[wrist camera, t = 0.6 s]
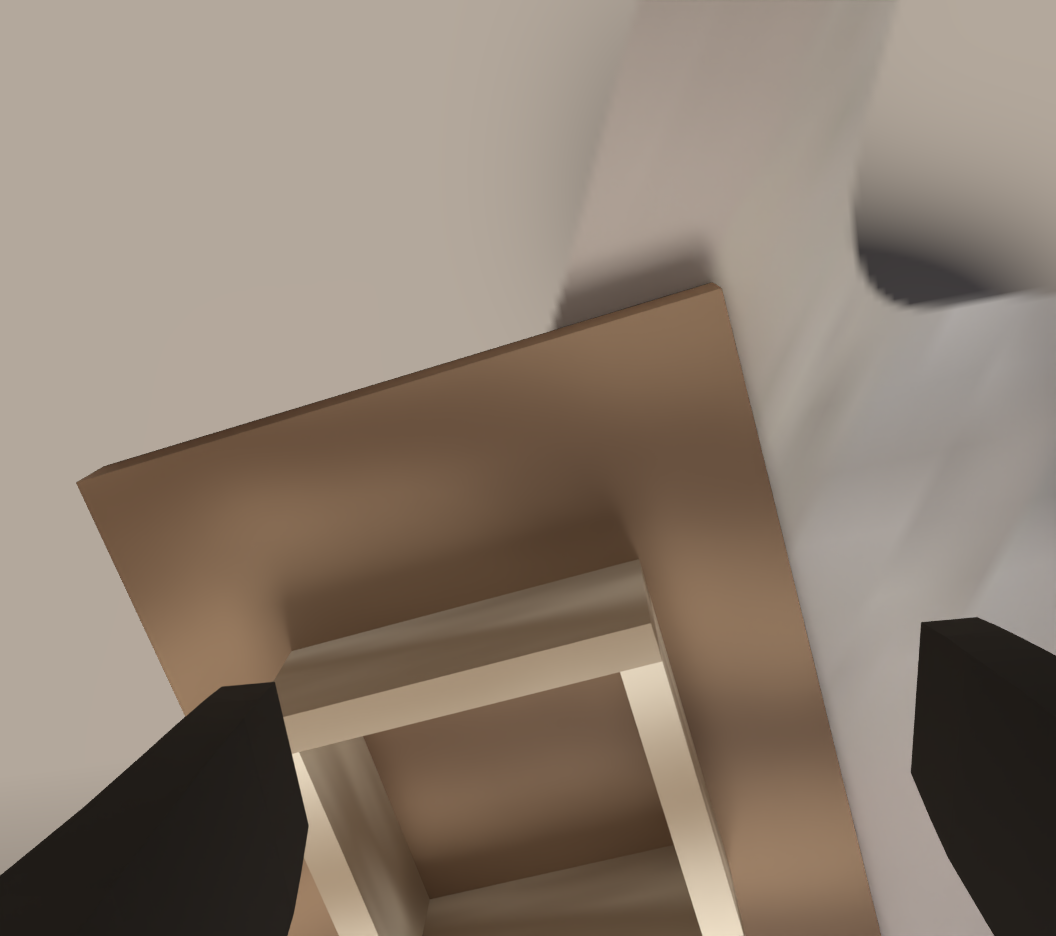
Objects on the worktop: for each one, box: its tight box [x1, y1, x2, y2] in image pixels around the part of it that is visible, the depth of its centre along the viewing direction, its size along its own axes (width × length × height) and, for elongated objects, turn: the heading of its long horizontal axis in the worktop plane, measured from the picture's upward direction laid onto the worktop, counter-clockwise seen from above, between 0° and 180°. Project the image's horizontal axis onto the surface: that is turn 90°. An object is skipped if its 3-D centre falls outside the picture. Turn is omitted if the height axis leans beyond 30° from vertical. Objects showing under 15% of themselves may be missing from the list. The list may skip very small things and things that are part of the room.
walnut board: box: [77, 282, 881, 936], centre depth 20 cm, size 18×14×4 cm
